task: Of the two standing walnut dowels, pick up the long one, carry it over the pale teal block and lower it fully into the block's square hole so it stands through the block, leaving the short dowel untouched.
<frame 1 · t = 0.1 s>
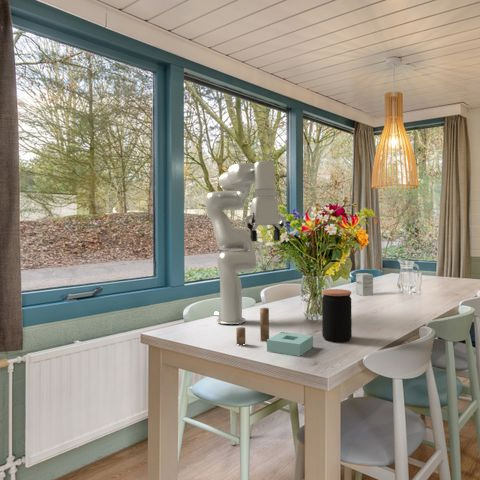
hand: (265, 240, 163), 37 cm above the table, tool pointing down, fingers open, 9 cm apart
coffee jar: (336, 339, 163), on the table
short dowel: (241, 344, 157), on the table
long dowel: (264, 340, 163), on the table
hole block: (290, 349, 151), on the table
supplement box: (364, 295, 261), on the table
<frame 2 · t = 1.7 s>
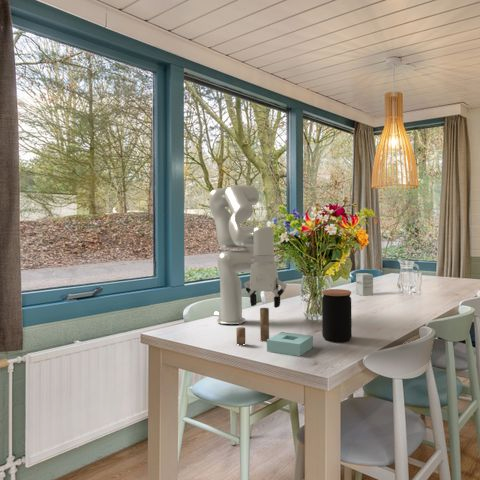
hand: (265, 306, 162), 13 cm above the table, tool pointing down, fingers open, 9 cm apart
nothing on the table moved.
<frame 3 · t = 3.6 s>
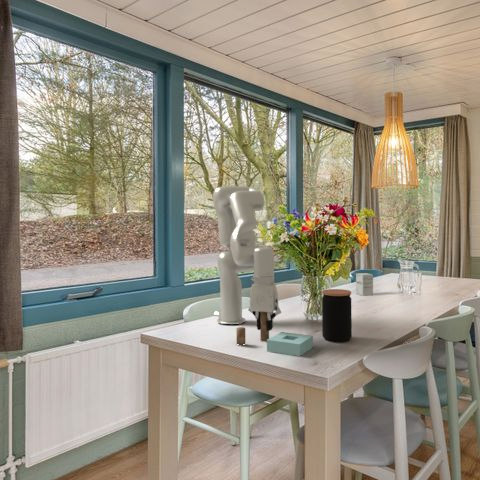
hand: (264, 329, 162), 4 cm above the table, tool pointing down, fingers closed on long dowel, 3 cm apart
long dowel: (264, 340, 163), on the table, touching gripper
everything else where it was.
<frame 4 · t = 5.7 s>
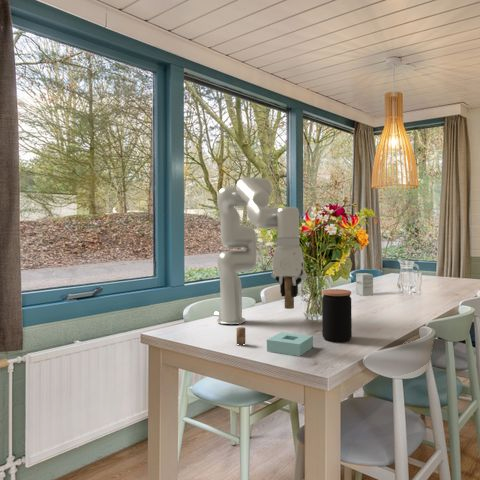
hand: (289, 295, 150), 19 cm above the table, tool pointing down, fingers closed on long dowel, 3 cm apart
long dowel: (289, 307, 150), point 14 cm above the table, touching gripper
everything else where it was.
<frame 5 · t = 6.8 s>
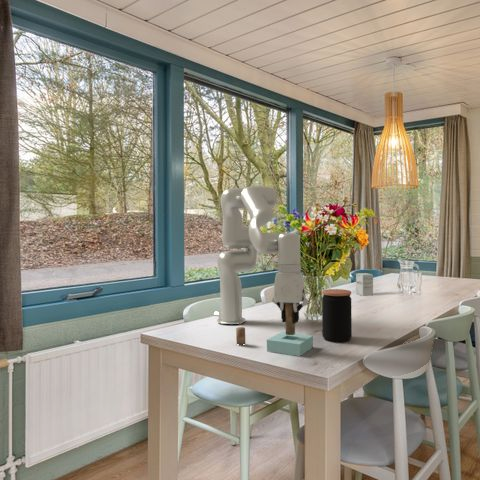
hand: (290, 321, 150), 10 cm above the table, tool pointing down, fingers closed on long dowel, 3 cm apart
long dowel: (290, 333, 151), point 5 cm above the table, touching gripper
everything else where it was.
when the fingers open (6 cm above the table, at t = 7.8 s): long dowel drops 1 cm, resting in hole block.
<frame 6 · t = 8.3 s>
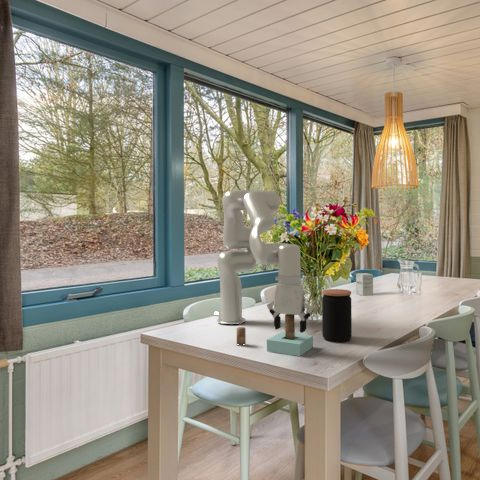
hand: (290, 330, 151), 7 cm above the table, tool pointing down, fingers open, 9 cm apart
long dowel: (290, 349, 151), resting in hole block
everything else where it was.
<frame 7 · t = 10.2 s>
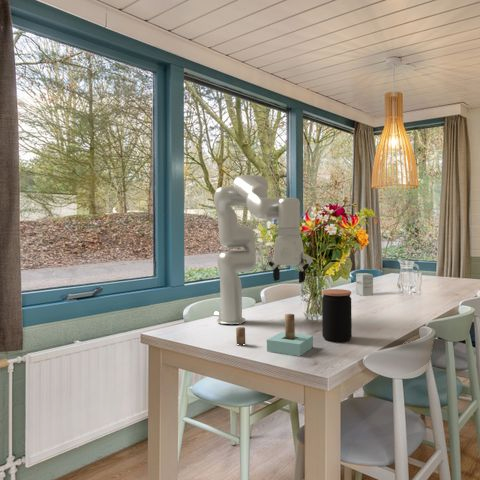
hand: (289, 281, 155), 23 cm above the table, tool pointing down, fingers open, 9 cm apart
nothing on the table moved.
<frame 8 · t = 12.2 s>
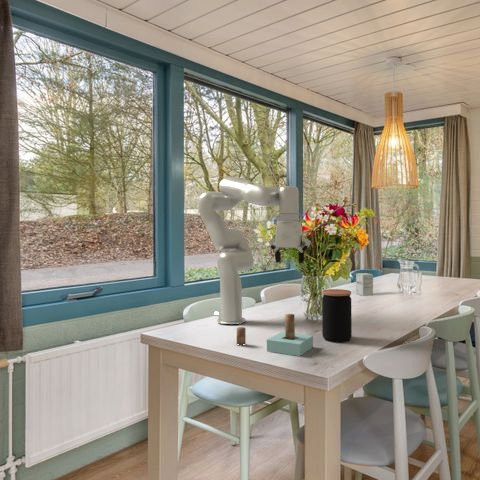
hand: (289, 262, 169), 28 cm above the table, tool pointing down, fingers open, 9 cm apart
nothing on the table moved.
at the end: long dowel 0.1 cm off-centre on the hole block, point 0.0 cm above the hole block's base; long dowel tilted 0°; short dowel moved 0.0 cm from its start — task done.
